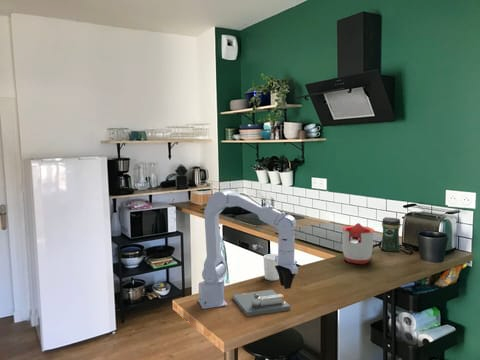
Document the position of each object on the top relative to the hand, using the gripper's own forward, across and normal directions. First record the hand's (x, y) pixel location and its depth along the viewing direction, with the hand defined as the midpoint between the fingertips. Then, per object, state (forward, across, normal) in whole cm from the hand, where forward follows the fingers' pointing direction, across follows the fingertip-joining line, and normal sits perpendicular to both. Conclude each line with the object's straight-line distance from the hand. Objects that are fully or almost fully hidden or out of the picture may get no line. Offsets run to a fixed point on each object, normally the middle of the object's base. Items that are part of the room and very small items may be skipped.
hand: (285, 286), depth 139 cm
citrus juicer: (+11, +44, -62) cm, 76 cm away
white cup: (+11, +36, -10) cm, 39 cm away
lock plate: (+10, +11, +5) cm, 16 cm away
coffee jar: (+11, +56, -92) cm, 108 cm away
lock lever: (+9, +6, +4) cm, 12 cm away
